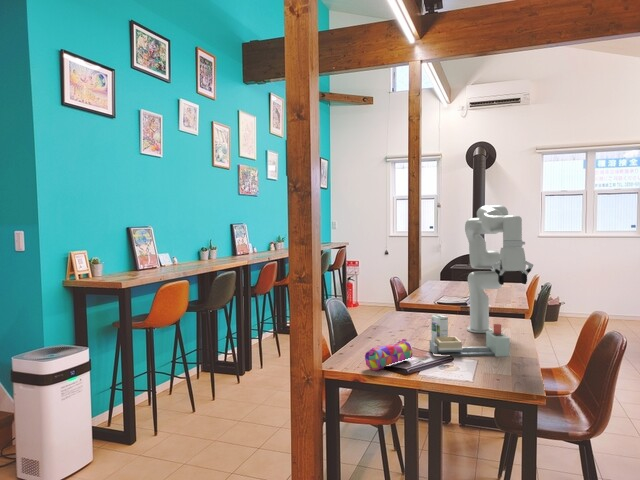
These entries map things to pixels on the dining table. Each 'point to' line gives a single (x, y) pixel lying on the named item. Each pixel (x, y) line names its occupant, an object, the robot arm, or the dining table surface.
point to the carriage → (448, 344)
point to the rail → (464, 351)
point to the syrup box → (439, 326)
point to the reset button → (497, 329)
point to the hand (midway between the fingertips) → (512, 284)
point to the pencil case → (388, 354)
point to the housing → (498, 343)
